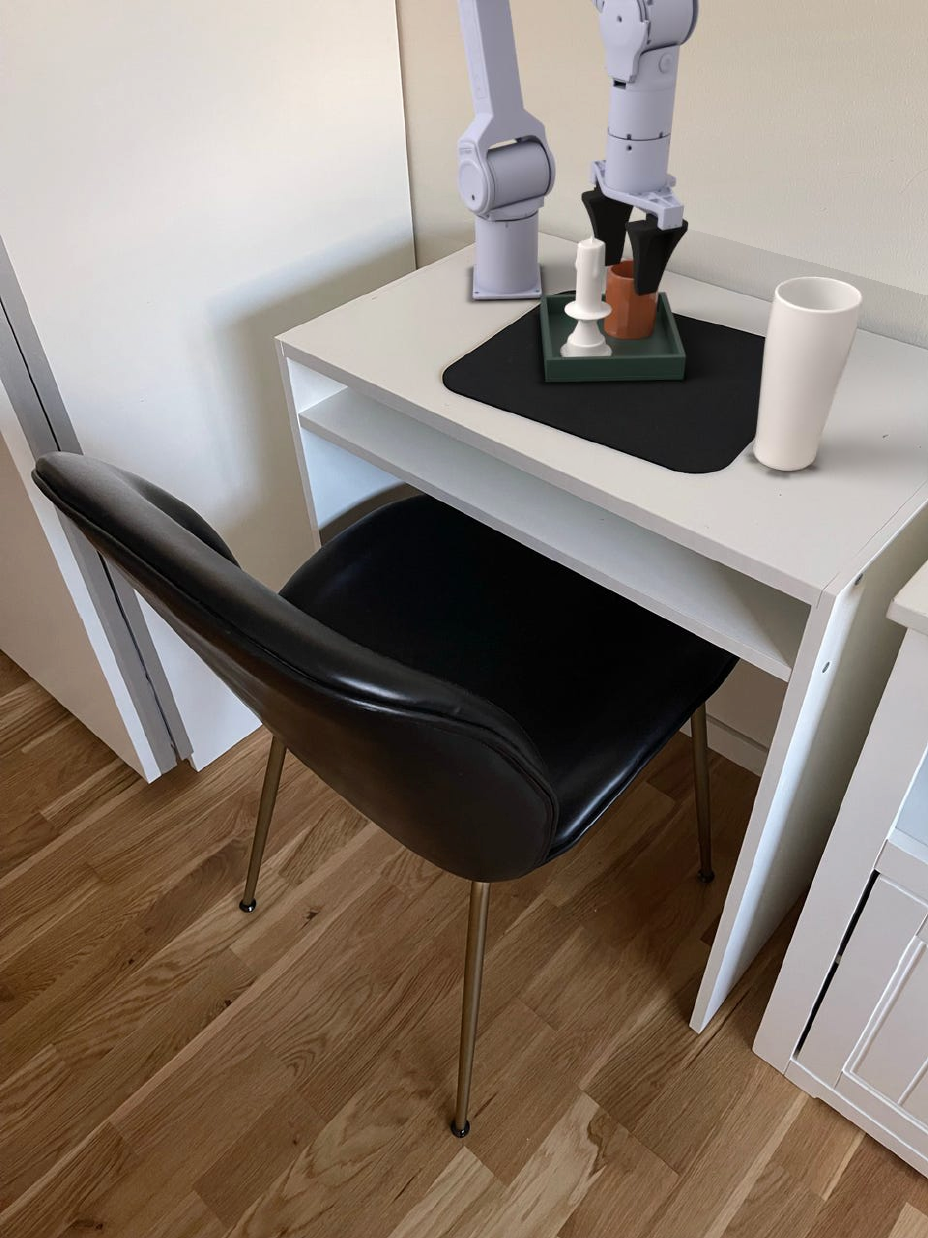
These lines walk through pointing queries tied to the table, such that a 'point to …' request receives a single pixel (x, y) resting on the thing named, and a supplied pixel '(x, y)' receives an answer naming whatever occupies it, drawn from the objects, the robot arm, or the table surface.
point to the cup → (628, 304)
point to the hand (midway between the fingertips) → (627, 278)
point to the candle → (588, 303)
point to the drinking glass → (803, 367)
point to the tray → (629, 357)
